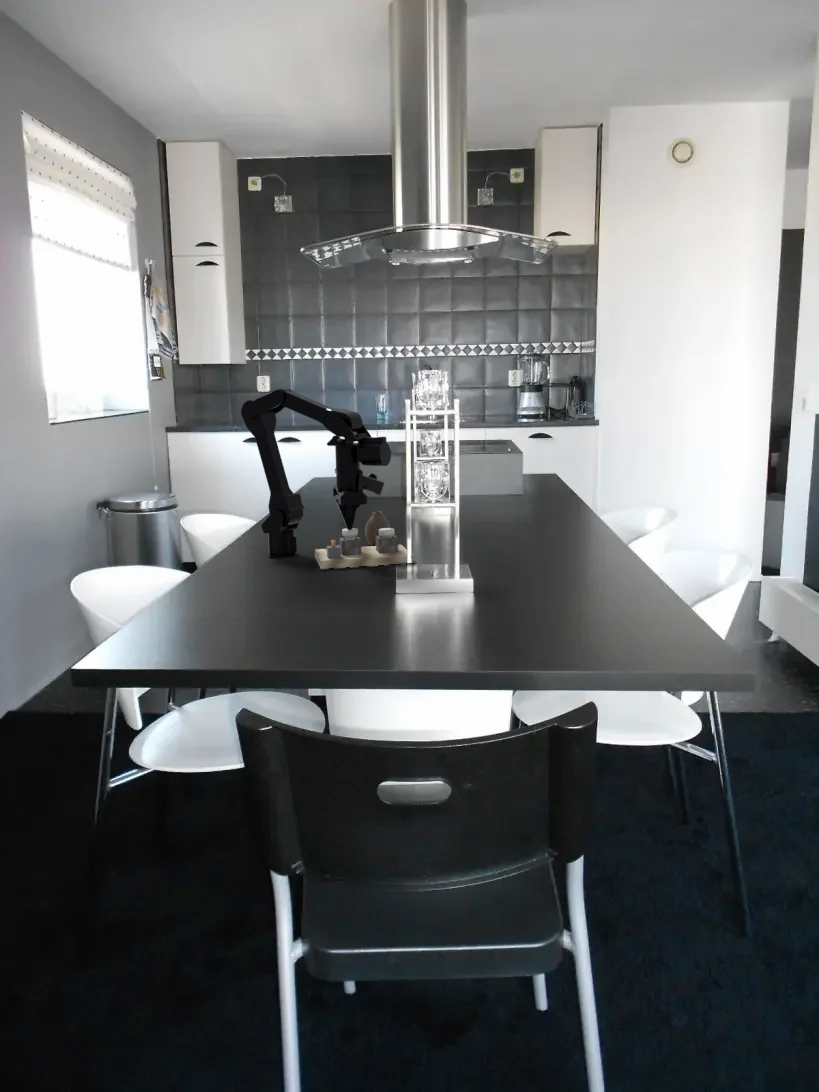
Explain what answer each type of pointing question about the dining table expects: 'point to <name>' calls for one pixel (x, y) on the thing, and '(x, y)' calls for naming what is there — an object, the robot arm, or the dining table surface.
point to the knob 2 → (386, 532)
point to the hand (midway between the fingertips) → (349, 529)
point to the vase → (375, 526)
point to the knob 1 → (350, 533)
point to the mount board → (364, 554)
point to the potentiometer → (333, 550)
